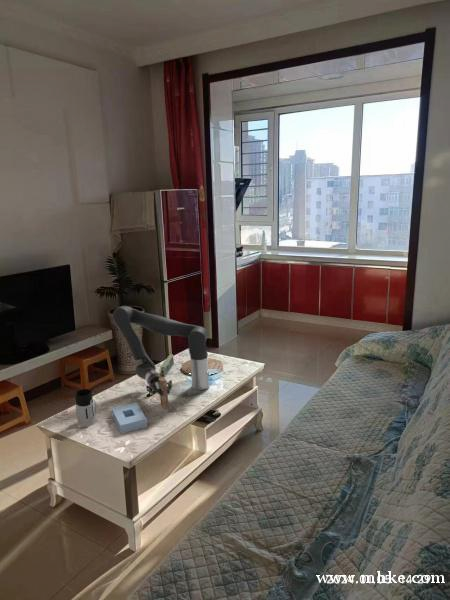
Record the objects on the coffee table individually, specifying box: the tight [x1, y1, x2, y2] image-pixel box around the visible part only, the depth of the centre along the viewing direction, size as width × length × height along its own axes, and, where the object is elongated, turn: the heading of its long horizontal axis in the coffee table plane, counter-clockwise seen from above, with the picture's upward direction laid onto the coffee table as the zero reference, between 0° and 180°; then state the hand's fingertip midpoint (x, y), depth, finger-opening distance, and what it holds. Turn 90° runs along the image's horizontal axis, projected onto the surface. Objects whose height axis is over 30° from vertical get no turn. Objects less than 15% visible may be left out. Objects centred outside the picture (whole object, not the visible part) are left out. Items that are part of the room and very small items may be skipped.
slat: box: [158, 377, 170, 409], centre depth 207 cm, size 2×4×14 cm, turn 26°
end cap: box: [111, 402, 148, 434], centre depth 202 cm, size 12×18×4 cm, turn 26°
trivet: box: [181, 357, 224, 375], centre depth 260 cm, size 25×25×2 cm
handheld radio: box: [159, 354, 175, 378], centre depth 256 cm, size 7×3×25 cm
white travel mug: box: [74, 388, 98, 428], centre depth 199 cm, size 9×14×15 cm, turn 50°
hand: (165, 392), depth 204 cm, fingers closed on slat, 2 cm apart
